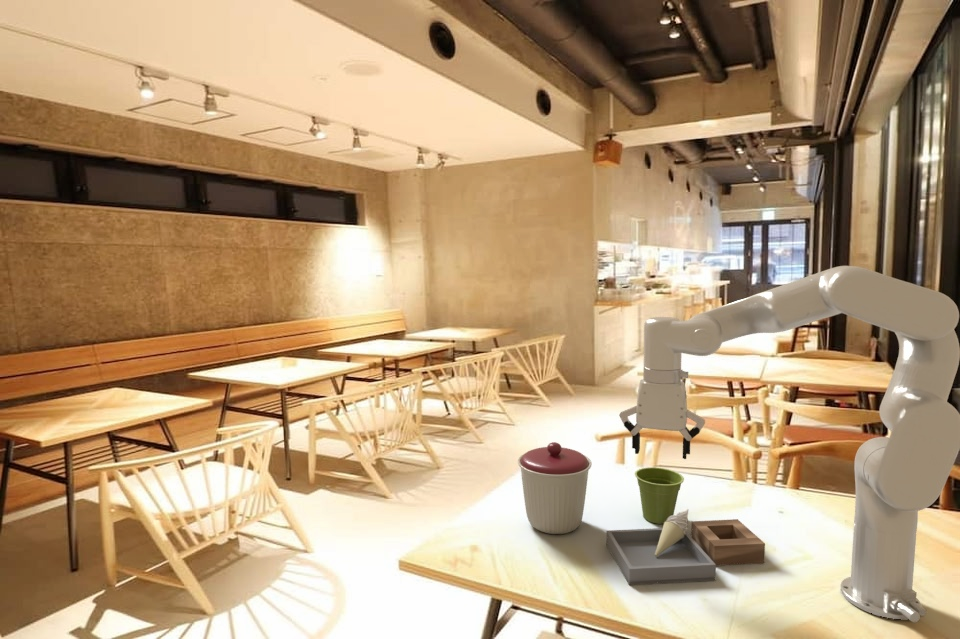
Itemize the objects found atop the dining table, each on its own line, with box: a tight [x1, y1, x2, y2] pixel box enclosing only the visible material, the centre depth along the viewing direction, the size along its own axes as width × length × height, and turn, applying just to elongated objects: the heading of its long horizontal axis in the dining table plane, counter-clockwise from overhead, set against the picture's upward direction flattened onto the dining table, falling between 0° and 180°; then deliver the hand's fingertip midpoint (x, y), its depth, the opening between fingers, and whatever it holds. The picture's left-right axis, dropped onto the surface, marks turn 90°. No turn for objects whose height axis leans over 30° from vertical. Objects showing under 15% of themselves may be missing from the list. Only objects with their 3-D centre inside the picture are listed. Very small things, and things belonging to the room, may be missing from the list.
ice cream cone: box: [655, 508, 689, 557], centre depth 125 cm, size 5×5×15 cm
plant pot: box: [634, 466, 685, 525], centre depth 140 cm, size 12×12×11 cm
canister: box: [517, 442, 592, 535], centre depth 137 cm, size 18×18×21 cm
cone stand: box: [690, 518, 766, 567], centre depth 125 cm, size 11×11×4 cm
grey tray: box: [605, 527, 717, 586], centre depth 121 cm, size 16×18×4 cm
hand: (660, 454), depth 118 cm, fingers open, 9 cm apart
